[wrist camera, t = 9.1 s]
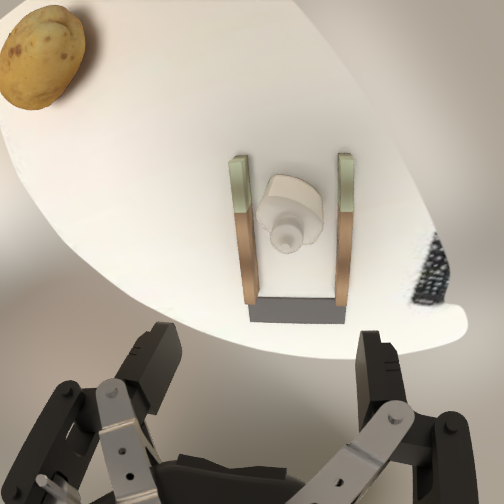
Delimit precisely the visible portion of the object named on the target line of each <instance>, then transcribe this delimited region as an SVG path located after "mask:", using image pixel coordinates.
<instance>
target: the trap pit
mask: <svg viewBox="0 0 504 504" xmlns="http://www.w3.org/2000/svg"><path fill="white" fill-rule="evenodd" d="M248 308H249V317H250V322H265V323H299V324H344V322H345V313H346V306H336V300H335V298H279V297H257V300H256V304H255V305H249V304H248Z"/></svg>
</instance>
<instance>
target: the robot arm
mask: <svg viewBox="0 0 504 504" xmlns="http://www.w3.org/2000/svg"><path fill="white" fill-rule="evenodd" d="M181 357H182V347H181V344H180V340H179V337H178V334H177V331H176V327H175V325H174V323H169V322H156V323H155V325H154V326H153V328H152V330H151V331H150V332H147V331H146V332H145V333H144V334H143V335H142V336H140V337H139V338H138V339H137V341H136V342H135V344H134V346H133V348H132V349H131V351H130V352H129V355H128V356H127V357H126V359H125V360H124V362H123V364H122V365H121V367H120V369H119V371H118V372H117V374H116V376H115V377H114V378H111V379H107V380H105V381H103V382H102V383H101V384H100V385H99V386H98V387H97V388H85V389H81V387H80V386H79V384H78V383H77V382H75V381H72V380H69V381H64V382H62V383H61V384H59V385H58V386H57V387H56V389H55V390H54V392H53V394H52V395H51V397H50V399H49V400H48V402H47V404H46V405H45V407H44V409H43V411H42V412H41V414H40V416H39V418H38V419H37V421H36V423H35V424H34V426H33V428H32V430H31V432H30V433H29V435H28V437H27V439H26V441H25V443H24V444H23V446H22V448H21V450H20V452H19V454H18V456H17V458H16V460H15V462H14V464H13V466H12V467H11V470H10V471H9V473H8V476H7V478H6V480H5V482H4V484H3V486H2V489H1V496H2V499H3V501H4V502H5V504H81V497H80V494H79V492H78V489H79V487H80V484H81V482H82V480H83V477H84V475H85V472H86V470H87V468H88V465H89V463H90V461H91V458H92V456H93V454H94V451H95V449H96V447H97V444H98V442H99V440H100V441H101V446H102V450H103V454H104V458H105V462H106V466H107V470H108V474H109V477H110V481H111V484H112V488H113V491H111V492H110V493H108V494H106V495H104V496H103V497H101V498H99V499H97V500H95V501H94V502H92V503H90V504H357V503H358V501H359V500H360V499H361V498H362V496H363V495H364V494H365V493H366V491H367V490H368V489H369V488H370V486H371V485H372V484H373V483H374V482H375V480H376V479H377V478H378V477H379V475H380V474H381V473H382V471H383V470H384V469H385V468H386V466H387V465H388V463H389V462H390V461H394V462H399V463H404V464H409V465H412V467H413V504H479V501H478V489H477V479H476V471H475V463H474V456H473V450H472V443H471V437H470V432H469V426H468V423H467V420H466V419H465V417H464V416H463V415H461V414H460V413H458V412H454V411H448V412H444V413H442V414H441V415H440V416H438V418H435V417H430V416H425V415H421V414H418V413H416V412H415V411H414V410H413V409H412V408H411V406H409V405H408V403H407V400H406V395H405V389H404V384H403V380H402V374H401V369H400V364H399V359H398V354H397V351H396V350H395V348H394V347H393V346H392V344H391V343H381V340H380V334H379V331H361V332H360V337H359V343H358V349H357V354H356V364H355V369H356V383H357V400H358V420H359V434H358V435H357V437H356V438H355V439H354V440H353V441H352V442H351V443H350V444H346V445H345V446H344V447H343V448H341V449H340V451H339V452H338V453H337V454H336V455H335V456H334V457H333V458H332V459H331V460H330V461H329V462H328V463H327V464H326V465H325V466H324V467H323V468H322V469H321V470H320V471H319V472H318V473H317V474H316V476H314V477H313V478H312V479H311V480H310V481H309V482H308V483H307V484H306V483H305V482H303V481H301V480H300V479H298V478H295V477H293V476H290V475H287V472H286V471H287V468H276V467H264V466H255V467H245V468H234V469H229V468H226V467H223V466H221V465H218V464H216V463H213V462H211V461H209V460H206V459H204V458H198V457H193V456H187V455H183V454H179V457H178V459H177V460H174V461H167V462H162V460H161V458H160V457H159V455H158V452H157V450H156V447H155V445H154V442H153V439H152V437H151V434H150V431H149V428H148V426H147V423H146V420H145V417H146V415H147V413H148V414H153V415H157V412H158V410H159V408H160V406H161V403H162V401H163V399H164V397H165V394H166V392H167V390H168V387H169V385H170V383H171V381H172V378H173V376H174V373H175V372H176V369H177V367H178V365H179V363H180V361H181ZM73 423H74V425H73V427H72V429H71V431H70V433H69V435H68V437H67V439H66V436H67V433H68V431H69V430H70V428H71V426H72V424H73Z"/></svg>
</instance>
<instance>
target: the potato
mask: <svg viewBox="0 0 504 504" xmlns="http://www.w3.org/2000/svg"><path fill="white" fill-rule="evenodd" d="M84 52H85V35H84V29H83V26H82V23H81V21H80V20H79V19H78V18H77V17H76V16H74V15H73V14H72V13H70V12H69V11H68V10H67V9H66V8H64V7H63V6H59V5H50V6H46V7H43V8H40V9H37V10H35V11H33V12H31V13H29V14H28V15H26V16H25V17H24V18H23V19H22V20H21V21H20V22H19V23H18V24H17V25H16V26H15V28H14V29H13V30H12V32H11V33H9V36H8V38H7V40H6V42H5V44H4V46H3V48H2V50H1V53H0V92H1V94H2V95H3V96H4V98H5V99H6V100H7V101H8V102H10V103H11V104H12V105H14V106H16V107H18V108H22V109H25V110H39V109H42V108H45V107H48V106H50V105H51V104H52V103H53V102H54V101H55V100H56V99H57V98H58V97H59V96H60V95H61V94H62V93H63V92H64V91H65V89H66V87H67V86H68V85H69V83H70V82H71V81H72V79H73V77H74V76H75V74H76V72H77V70H78V68H79V66H80V64H81V61H82V59H83V56H84Z"/></svg>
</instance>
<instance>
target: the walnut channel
mask: <svg viewBox="0 0 504 504" xmlns="http://www.w3.org/2000/svg"><path fill="white" fill-rule="evenodd" d="M229 172H230V181H231V190H232V199H233V208H234V217H235V225H236V234H237V243H238V251H239V260H240V268H241V277H242V285H243V293H244V302H245V304H249V305H255V304H256V300H257V296H258V293H259V281H258V270H257V258H256V247H255V236H254V225H253V214H252V203H251V192H250V181H249V170H248V159H247V155H246V156H235V157H234V158H233V159H232V160H231V161H230V162H229ZM353 201H354V159H353V157H352V156H351V154H350V153H338V235H337V261H336V280H335V300H336V306H347V297H348V286H349V274H350V261H351V246H352V227H353Z"/></svg>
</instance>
